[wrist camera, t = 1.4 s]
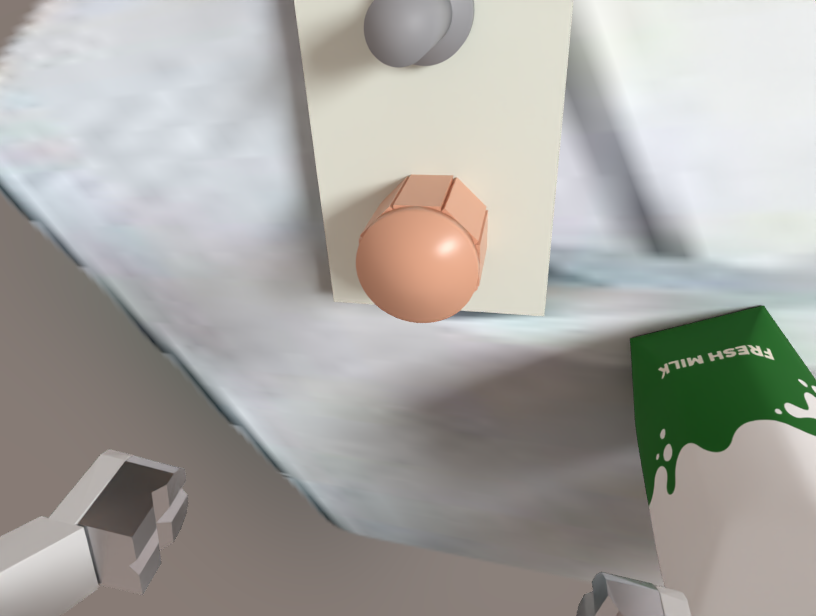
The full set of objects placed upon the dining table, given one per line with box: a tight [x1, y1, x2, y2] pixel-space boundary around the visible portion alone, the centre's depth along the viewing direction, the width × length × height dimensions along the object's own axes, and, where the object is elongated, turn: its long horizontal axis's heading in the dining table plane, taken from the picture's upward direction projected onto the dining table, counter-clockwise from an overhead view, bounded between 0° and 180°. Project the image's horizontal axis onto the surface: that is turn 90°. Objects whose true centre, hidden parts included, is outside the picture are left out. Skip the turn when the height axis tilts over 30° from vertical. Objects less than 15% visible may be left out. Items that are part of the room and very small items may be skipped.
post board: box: [294, 0, 573, 316], centre depth 26 cm, size 20×12×8 cm, turn 3°
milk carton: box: [630, 306, 816, 616], centre depth 25 cm, size 9×9×20 cm
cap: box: [356, 174, 488, 323], centre depth 28 cm, size 6×6×5 cm
